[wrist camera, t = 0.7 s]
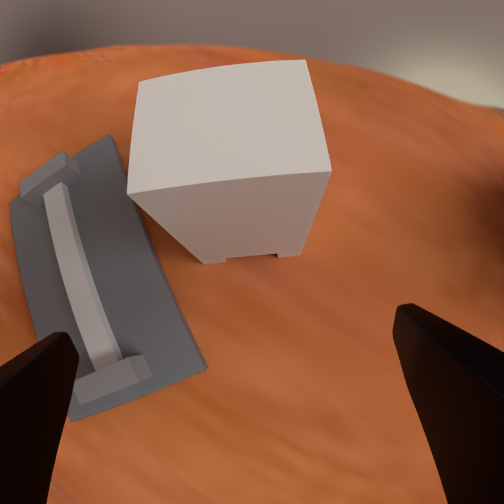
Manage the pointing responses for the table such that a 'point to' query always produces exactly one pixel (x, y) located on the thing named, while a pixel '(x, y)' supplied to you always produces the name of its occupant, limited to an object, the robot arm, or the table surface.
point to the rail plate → (99, 280)
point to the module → (230, 158)
